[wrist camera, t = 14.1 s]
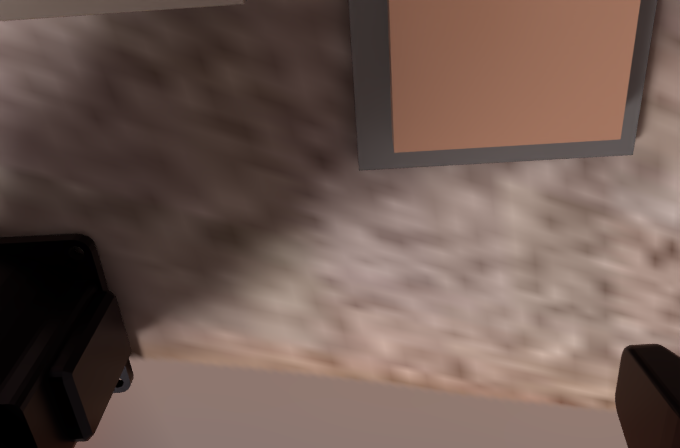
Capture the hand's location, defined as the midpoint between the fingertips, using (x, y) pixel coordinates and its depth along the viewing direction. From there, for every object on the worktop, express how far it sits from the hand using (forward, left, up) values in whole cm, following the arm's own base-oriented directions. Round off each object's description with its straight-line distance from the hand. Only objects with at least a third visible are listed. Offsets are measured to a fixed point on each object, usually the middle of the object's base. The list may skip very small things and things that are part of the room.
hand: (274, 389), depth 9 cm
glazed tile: (+5, +5, -11) cm, 13 cm away
